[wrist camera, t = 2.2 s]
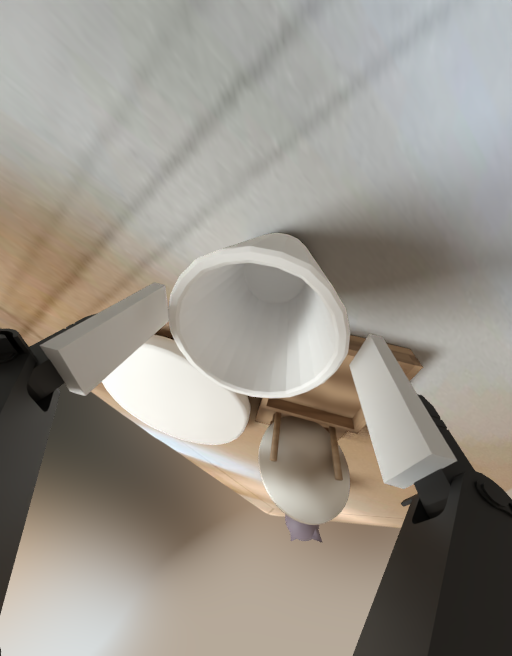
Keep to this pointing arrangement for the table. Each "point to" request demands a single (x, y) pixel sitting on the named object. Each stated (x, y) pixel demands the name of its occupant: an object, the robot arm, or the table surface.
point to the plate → (177, 395)
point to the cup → (260, 318)
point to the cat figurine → (302, 530)
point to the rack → (315, 441)
